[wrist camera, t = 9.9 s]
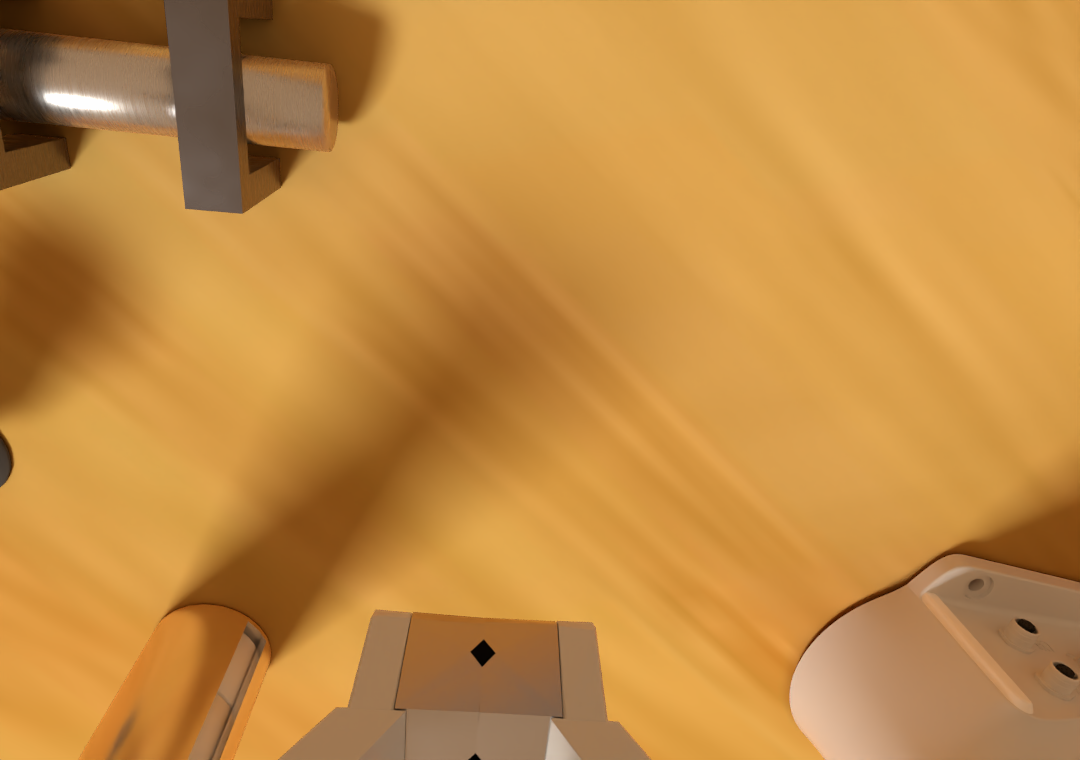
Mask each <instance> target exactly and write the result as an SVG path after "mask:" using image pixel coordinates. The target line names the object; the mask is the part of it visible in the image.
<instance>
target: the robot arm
mask: <svg viewBox="0 0 1080 760" xmlns="http://www.w3.org/2000/svg"><path fill="white" fill-rule="evenodd" d="M790 707H791V711H792V715H793V717H794V720H795V722H796V724H797V725H798V727H799V729H800V730H801V731H802V732H803V734H804V735H805V736H806V737H807V738H808V739H809V740H810V741H811V743H812V744H813V745H814V746H815V747H816V749H817V750H818V751H819V752H820V754H821V755H822V756H823V758H824V759H825V760H1080V582H1076V581H1072V580H1068V579H1064V578H1060V577H1055V576H1051V575H1047V574H1043V573H1039V572H1034V571H1030V570H1026V569H1022V568H1018V567H1014V566H1009V565H1005V564H1001V563H997V562H993V561H988V560H984V559H980V558H976V557H972V556H967V555H963V554H952V555H948V556H945V557H943V558H941V559H939V560H938V561H936V562H934V563H933V564H932V565H930V566H929V567H927V568H926V569H925V570H924V571H922V572H921V573H920V574H919V575H917V576H916V577H915V578H914V579H913V580H911V581H910V582H909V583H908V584H907V585H905V586H903V587H901V588H899V589H897V590H895V591H893V592H891V593H889V594H886V595H884V596H881V597H879V598H876V599H874V600H872V601H869V602H867V603H865V604H863V605H861V606H859V607H857V608H855V609H854V610H852V611H850V612H849V613H847V614H845V615H844V616H842V617H841V618H840V619H838V620H837V621H835V622H834V623H833V624H832V625H830V626H829V627H828V628H827V629H826V630H824V631H823V632H822V633H821V634H820V635H819V636H818V637H817V638H816V639H815V641H814V642H813V643H812V644H811V645H810V646H809V648H808V649H807V650H806V652H805V653H804V655H803V656H802V658H801V660H800V661H799V663H798V665H797V667H796V670H795V672H794V675H793V678H792V682H791V687H790ZM278 760H651V759H650V758H649V756H648V755H647V754H646V753H645V752H644V751H643V749H642V748H641V747H640V746H639V745H638V744H637V742H636V741H635V740H634V739H633V738H632V737H631V735H630V734H629V733H628V732H627V731H626V730H625V728H624V727H623V726H622V725H621V724H620V723H619V722H613V721H608V720H607V712H606V704H605V696H604V689H603V681H602V673H601V665H600V658H599V650H598V642H597V634H596V628H595V626H594V625H593V623H590V622H568V621H557V622H555V621H539V620H519V619H500V618H478V617H467V616H455V615H443V614H431V613H419V612H413V613H408V612H397V611H386V610H375V612H374V614H373V615H372V617H371V620H370V623H369V627H368V631H367V635H366V639H365V643H364V647H363V650H362V654H361V658H360V662H359V666H358V670H357V673H356V677H355V681H354V685H353V689H352V693H351V697H350V700H349V704H348V708H339V707H336V708H335V709H334V710H333V711H331V712H330V713H329V714H328V715H327V716H326V717H325V718H324V719H323V720H321V721H320V722H319V723H318V724H317V725H316V726H315V727H314V728H313V729H311V730H310V731H309V732H308V733H307V734H306V735H305V736H304V737H303V738H301V739H300V740H299V741H298V742H297V743H296V744H295V745H294V746H293V747H291V748H290V749H289V750H288V751H287V752H286V753H285V754H284V755H283V756H282V757H280V758H279V759H278Z"/></svg>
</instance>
